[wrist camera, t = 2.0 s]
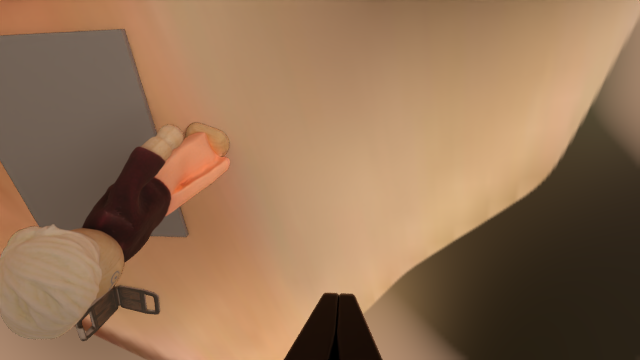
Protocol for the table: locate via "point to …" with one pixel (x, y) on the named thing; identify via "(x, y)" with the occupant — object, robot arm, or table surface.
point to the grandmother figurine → (104, 232)
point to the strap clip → (115, 307)
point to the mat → (71, 122)
